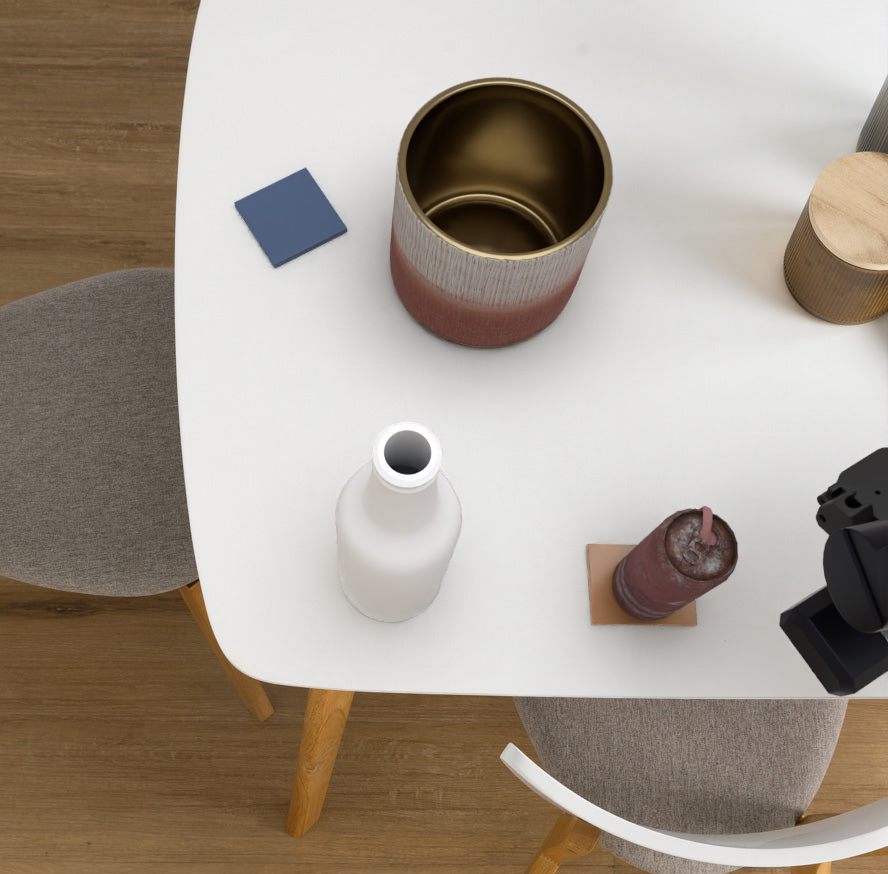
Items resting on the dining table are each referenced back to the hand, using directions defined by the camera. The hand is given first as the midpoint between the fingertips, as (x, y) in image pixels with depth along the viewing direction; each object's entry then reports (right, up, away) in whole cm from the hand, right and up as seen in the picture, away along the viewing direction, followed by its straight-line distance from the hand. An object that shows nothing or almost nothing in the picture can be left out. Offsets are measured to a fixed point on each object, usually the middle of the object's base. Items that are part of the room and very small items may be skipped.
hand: (858, 607), depth 70 cm
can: (-12, 0, +13) cm, 18 cm away
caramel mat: (-12, 0, +13) cm, 18 cm away
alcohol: (-34, +1, +13) cm, 37 cm away
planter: (-25, +30, +22) cm, 45 cm away
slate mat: (-44, +35, +23) cm, 61 cm away
